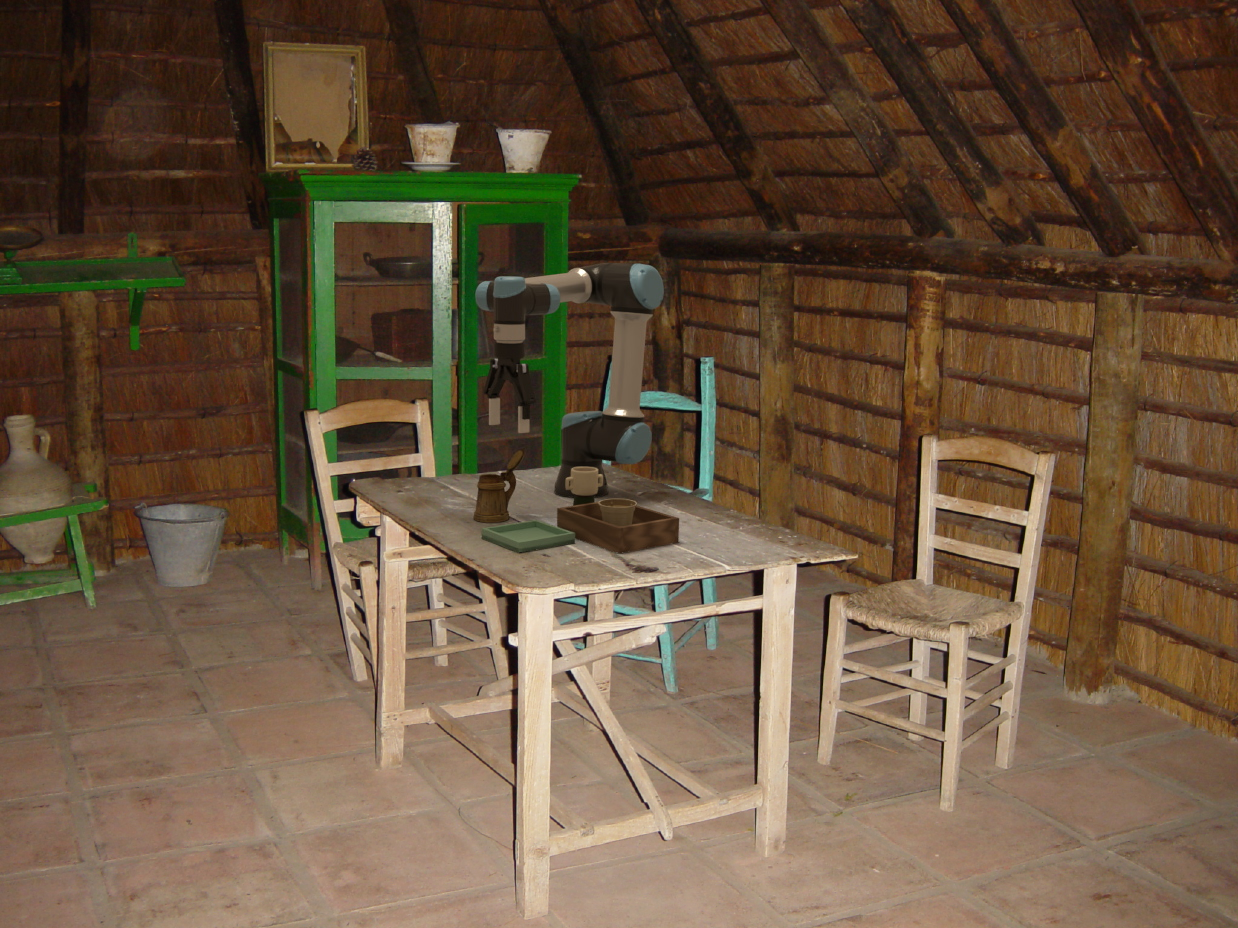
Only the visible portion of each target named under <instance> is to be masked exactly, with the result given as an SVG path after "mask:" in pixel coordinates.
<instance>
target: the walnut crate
mask: <svg viewBox="0 0 1238 928" xmlns="http://www.w3.org/2000/svg"><path fill="white" fill-rule="evenodd" d="M598 502H599V501H596V502H595V503H588V504H582V505H575V506H573V505H571V506H570V505H569V506H564V507H557V509H556V517H557V518H556V527H559V528H562V529H565V530H568V531H571V532H574V533H575V540H578V541H579V540H580V541H582V542H585V543H588V544H590V545H593V546H596V547H598V546H599V547H598V548H601V549H604V548H605V549H604V550H607V549H609V550H608V551H611V552H613V551H614V552H613V553H616V552H618V553H620V554H623V553H622V552H625V553H629V552H628V551H630V552H634V551H640V550H639V549H641V550H645V548H646V549H650V548H656V547H655V546H657V547H661V545H662V546H666V545H672V544H671V543H673V544H676V543H679V540H680V539H679V537H680V517H678V516H674V515H669V514H667V513H663V512H661V511H656V510H653V509H651V508H647V507H643V506H641V505H640V506H639V505H638V504H637V505H636V506H635V511H634V513H633V519H632V525H627V526H621V527H620V526H617V525H613V524H610V523H607V522H604V521H603V519H602V512H601V510H600V505H599V504H598ZM618 553H617V554H618Z"/></svg>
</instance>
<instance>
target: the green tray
mask: <svg viewBox="0 0 1238 928" xmlns="http://www.w3.org/2000/svg"><path fill="white" fill-rule="evenodd" d="M481 539H482V540H485V541H488V542H490V543H492V544H495V545H498V546H500V547H503V548H504V549H507V548H508V550H510V551H513V552H515V551H516V552H515V553H518V552H522V553H526V551H528V552H532V551H533V550H534V551H537V550H536V549H539V550H544V548H545V549H550V547H551V548H555V547H554V546H556V547H560V545H562V546H567V545H572V544H576V538H575V533H574V532H571V531H568V530H565V529H562V528H559V527H557V525H553V524H551V523H547V522H544V521H542V520H539V519H533V520H526V521H521V522H519V521H518V522H514V523H507V524H501V525H494V526H493V525H492V526H488V527H481Z"/></svg>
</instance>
